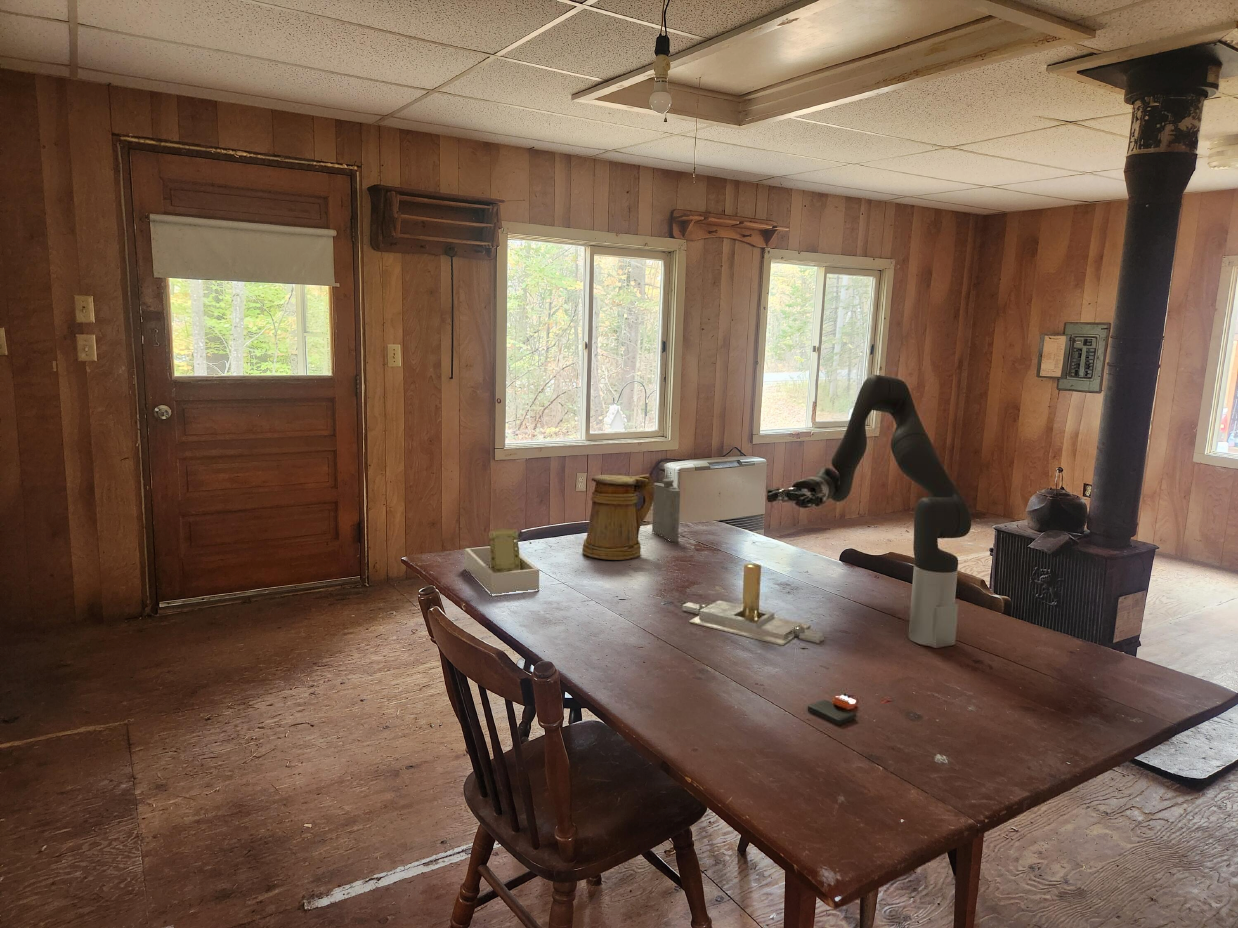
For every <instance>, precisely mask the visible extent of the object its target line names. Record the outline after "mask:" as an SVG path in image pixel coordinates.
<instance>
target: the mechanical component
mask: <svg viewBox="0 0 1238 928" xmlns="http://www.w3.org/2000/svg"><path fill="white" fill-rule="evenodd" d="M518 535H519V533H518V529H515V528H514V529H507V528H500V529H498V530H490V531H489V532H488V539H489V547H490V554H491V567H490V569H491V570H492V571H493V572H494V573H498V572H508V571H519V570H520V556H519V554H520V547H519V536H518ZM515 540H516V541H515ZM492 542H493V543H492ZM516 557H517V558H516ZM516 565H517V567H516Z"/></svg>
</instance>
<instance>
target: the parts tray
mask: <svg viewBox="0 0 1238 928" xmlns="http://www.w3.org/2000/svg"><path fill="white" fill-rule="evenodd" d="M519 556H520V570H519V571H508V572H498V573H494V572H493V571H492V569H491V568H490V567H487V566H491V554H490V546H479V547H469V548H468V547H467V548H464V569H465V568H466V569H467V570H468V571H469V572H471V574H472V575H474V577H475V578H476V579H477V580H478V581H479V582H480V583H481V584H482V585H483V586H484V587H485V588H486V589H487V590H488V591H489V592H490V594H491V595H492V594H502V593H509V592H516V591H528V590H536V589H537V590H538V589H539V590H540V569H539V568H538V567H537V566H535V564H533V563H532V562H530V560H528V559H527V558H525V557H524V556H523V555H522V554H520V553H519ZM516 558H517V557H516ZM516 567H517V565H516ZM466 569H465V570H466ZM467 570H466V571H467ZM468 571H467V572H468ZM469 572H468V573H469Z"/></svg>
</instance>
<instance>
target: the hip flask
mask: <svg viewBox="0 0 1238 928" xmlns="http://www.w3.org/2000/svg"><path fill="white" fill-rule="evenodd" d="M662 481H663V482H661V483H660V482H654V483H653V486H654V499H653V504H652V522H651V523H652V525H651V527H652V528H651V529H652V531H651V532H654V533H653V534H655V533H656V534H655V535H657V534H660V535H662V536H664V537H666V538H667V539H669V540H670V541H678V542H679V534H680V533H679V529H680V527H679V526H680V499H681V490H680V489H679V488H677V487H675V486H674V482H675V481H674V479H672V478H671V479H668V478H667V479H662ZM660 535H659V536H660ZM662 536H661V537H662ZM664 537H663V538H664ZM666 538H665V539H666ZM667 539H666V540H667ZM669 540H668V541H669ZM670 541H669V542H670Z"/></svg>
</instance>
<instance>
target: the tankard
mask: <svg viewBox="0 0 1238 928" xmlns="http://www.w3.org/2000/svg"><path fill="white" fill-rule="evenodd" d="M650 476H651V475H649V474H648V473H647V474H642V475H641V474H640V475H637V476H635V475H634V476H633V475H620V474H619V475H618V474H617V475H614V474H613V475H611V474H600V475H596V476H593V477H592V478H591V481H592V482H594V483H595V486H594V489H593V490H592V492H591V495H590V501H591V507H590V508H591V509H590V515H589V521H588V527H587V531H586V532H587V533H586V538H585V539H584V540H583V544H582V548H581V549H582V553H583V554H584V555H585V556H588V557H589V558H595V559H600V560H601V559H602V560H612V561H622V560H623V561H624V560H631V558H632V559H635V558H637V557H639V556H640V555H641V550H642V547H641V542H640V541H639V536H640V535H639V534H640V529H641V525H642V524H643V522H644V520H645V518H646V517H647V515H648V514H649V512H650V511H651V508H652V507H653V499H654V483H653V481H652V479H651V477H650ZM637 493H640V494H641V496H642V498H643V499H642V502H641V503H642V504H641V505H640V506H639V507H636V503H638V500H639V496H638V494H637Z"/></svg>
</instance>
